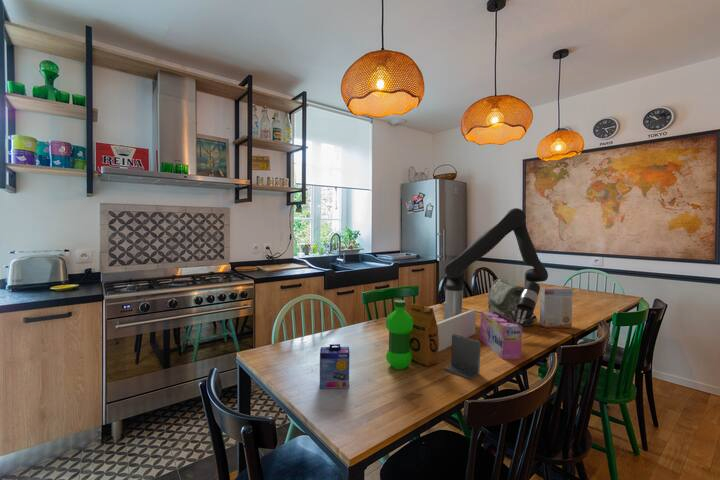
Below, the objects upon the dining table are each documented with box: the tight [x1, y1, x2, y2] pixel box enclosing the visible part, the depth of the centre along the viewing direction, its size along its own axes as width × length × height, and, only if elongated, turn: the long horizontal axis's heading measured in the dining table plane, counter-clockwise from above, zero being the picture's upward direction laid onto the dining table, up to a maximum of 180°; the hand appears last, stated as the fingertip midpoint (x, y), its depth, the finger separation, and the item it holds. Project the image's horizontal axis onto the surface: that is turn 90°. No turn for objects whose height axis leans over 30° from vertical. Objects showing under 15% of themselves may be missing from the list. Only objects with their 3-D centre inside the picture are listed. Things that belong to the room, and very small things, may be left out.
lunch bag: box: [487, 278, 534, 327], centre depth 188 cm, size 26×18×22 cm
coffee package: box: [408, 302, 439, 367], centre depth 131 cm, size 10×12×22 cm
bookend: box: [443, 334, 481, 380], centre depth 121 cm, size 10×6×12 cm, turn 45°
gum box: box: [479, 311, 523, 360], centre depth 145 cm, size 24×8×14 cm, turn 3°
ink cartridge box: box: [319, 343, 350, 390], centre depth 111 cm, size 10×6×14 cm, turn 95°
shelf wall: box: [437, 308, 477, 353], centre depth 150 cm, size 2×40×12 cm, turn 135°
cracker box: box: [539, 286, 574, 329], centre depth 176 cm, size 14×6×21 cm, turn 84°
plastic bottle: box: [385, 299, 413, 370], centre depth 125 cm, size 10×10×25 cm
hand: (517, 331), depth 155 cm, fingers closed
